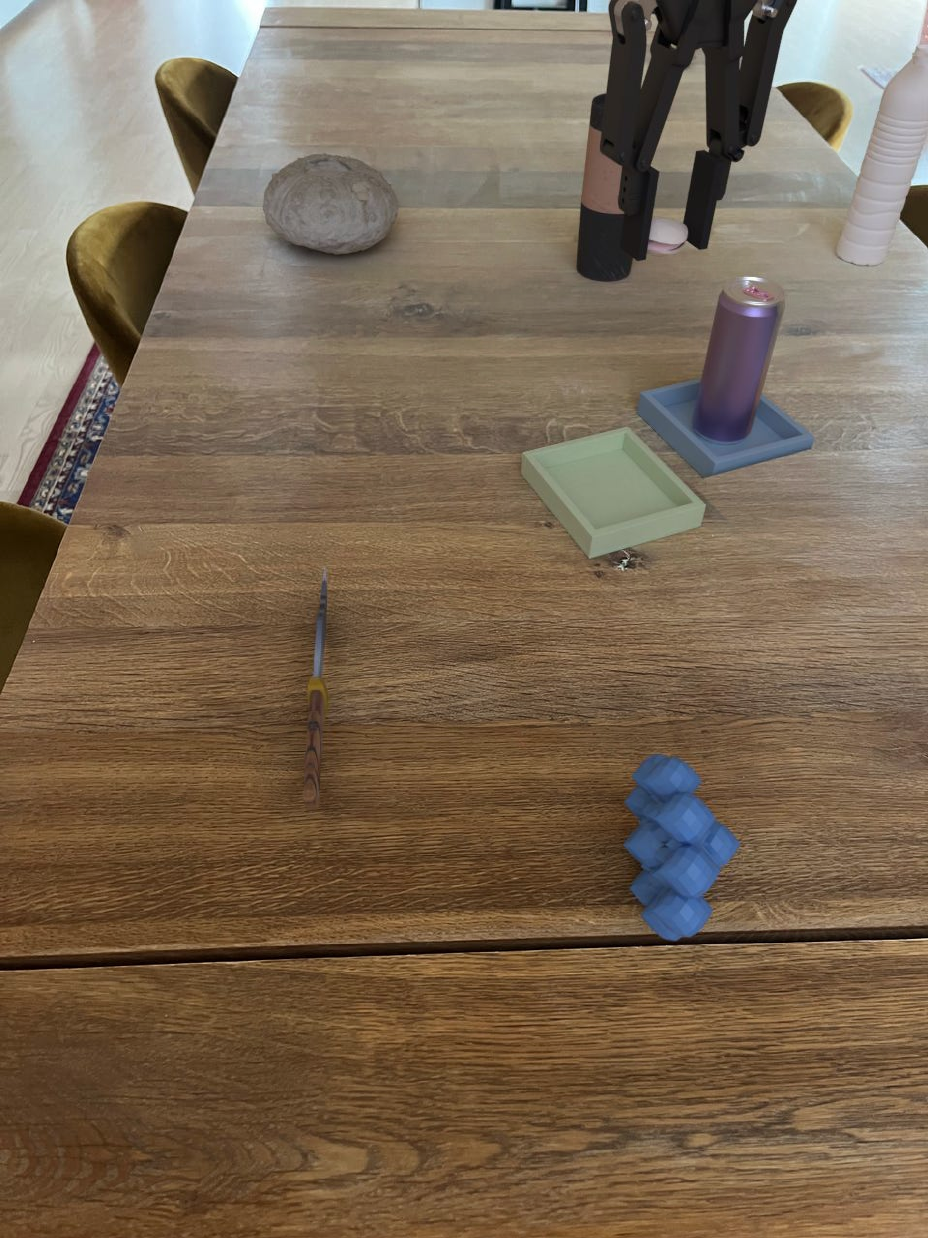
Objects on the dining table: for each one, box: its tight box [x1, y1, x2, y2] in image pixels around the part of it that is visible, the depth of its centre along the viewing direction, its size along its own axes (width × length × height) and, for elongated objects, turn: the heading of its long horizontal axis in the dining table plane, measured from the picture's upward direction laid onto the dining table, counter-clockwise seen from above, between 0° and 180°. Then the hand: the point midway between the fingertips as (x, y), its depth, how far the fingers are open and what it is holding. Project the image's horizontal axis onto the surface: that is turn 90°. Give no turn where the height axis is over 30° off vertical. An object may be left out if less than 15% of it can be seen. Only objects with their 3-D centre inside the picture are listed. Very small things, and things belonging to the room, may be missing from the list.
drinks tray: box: [636, 377, 815, 479], centre depth 95 cm, size 14×12×2 cm
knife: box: [302, 567, 329, 811], centre depth 69 cm, size 25×1×5 cm, turn 4°
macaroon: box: [647, 216, 688, 258], centre depth 74 cm, size 4×5×2 cm
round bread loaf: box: [262, 152, 399, 256], centre depth 124 cm, size 18×18×10 cm
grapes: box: [623, 752, 741, 942], centre depth 55 cm, size 12×7×12 cm, turn 1°
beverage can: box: [692, 275, 787, 445], centre depth 90 cm, size 6×6×15 cm
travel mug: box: [576, 92, 634, 282], centre depth 116 cm, size 8×8×20 cm
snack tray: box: [520, 426, 707, 560], centre depth 87 cm, size 14×12×2 cm
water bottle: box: [835, 43, 928, 267], centre depth 117 cm, size 9×6×25 cm
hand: (663, 247), depth 74 cm, fingers closed on macaroon, 5 cm apart
